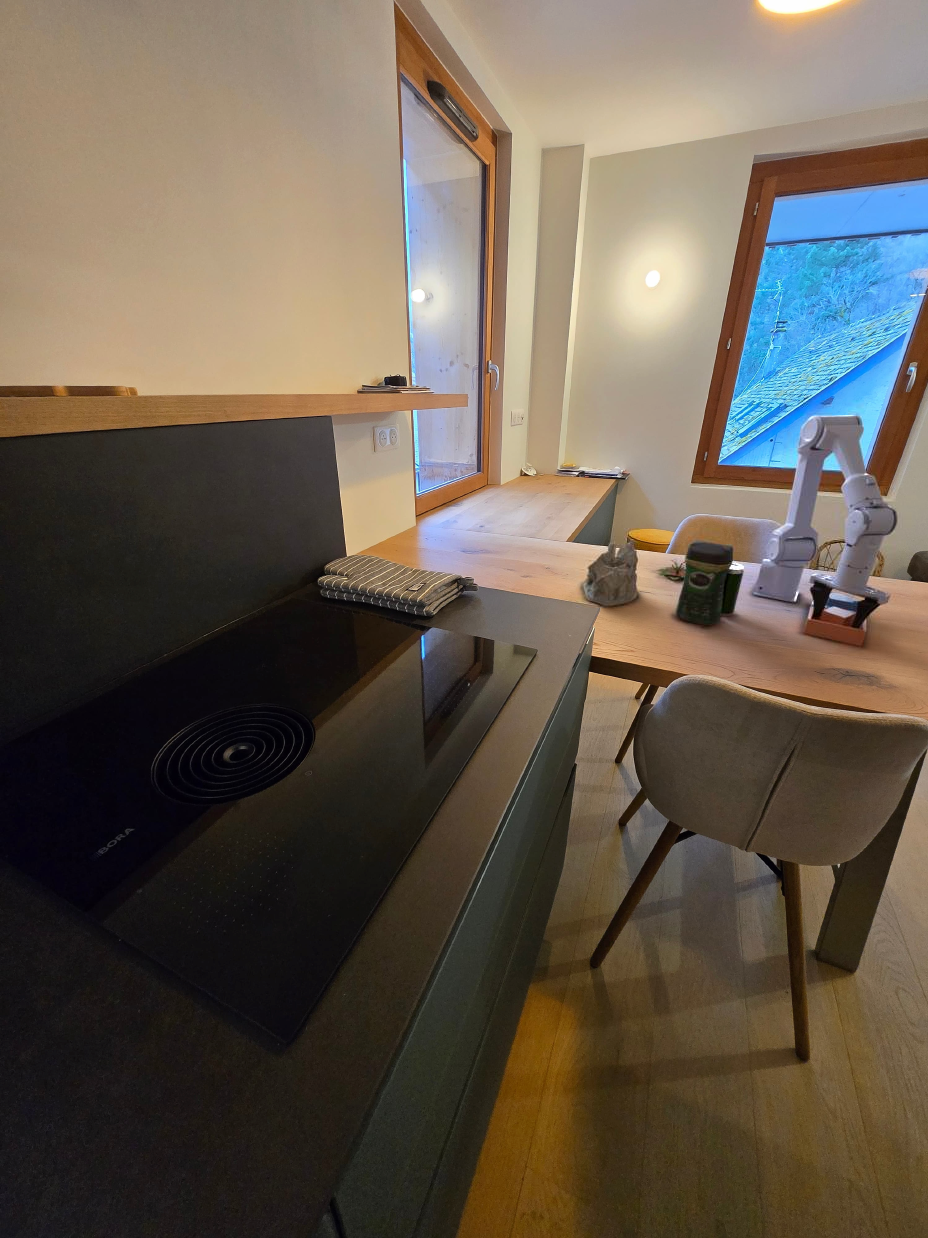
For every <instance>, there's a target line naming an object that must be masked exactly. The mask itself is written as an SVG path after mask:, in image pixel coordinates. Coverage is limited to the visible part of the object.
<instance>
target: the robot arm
mask: <svg viewBox="0 0 928 1238" xmlns="http://www.w3.org/2000/svg"><path fill="white" fill-rule="evenodd" d="M864 430H865V428H864V426H863V420H862V418H861V416H860V415H858V414H850V415H817V414H815V415H811V416H810V417H809V418H808V419H807V420H806V421H805V422H804V423H803V424H802V426H801V428H800V432H799V438H798V442H797V449H796V453H798V459H797V463H796V468H795V474H794V480H793V483H792V489H791V495H790V500H789V505H788V510H787V515H786V520H785V524H783V525H781V526H780V527H778V528H776V529H774V530H773V531H772V533H771V536H770V540H769V541H768V543H767V545H766V556H767V558H768V559H765V558H764V559H763V560H762V562H761V565H760V569H759V571H758V576H757V578H756V581H755V584H754V586H755V588H754V591H753V595H754V596H759V597H763V598H769V599H774V600H778V601H779V600H780V601H784V602H789V603H796V602H797V599H798V596H799V594H800V592H799V590H798V589H799V586H800V583H801V579H802V577H803V576H802V575H803V572H804V570H805V566H809V562H812V561H814V560H815V558H816V557H817V556H818V553H819V542H818V541H819V532H817V531H816V529H814V527H812V521H813V516H814V511H815V507H816V501H817V497H818V493H819V488H820V482H821V478H822V473H823V469H824V463H825V461H826V459H827V458H828V457H829V456H830V455H832V454H833V455H834V457H835V460H836V461H837V464H838V466H839V468H840V470H841V473H842V475H843V477H844V480H845V481H844V482H843V484H842V485H841V488H840V489H841V494H842V497H843V499H844V502H845V505H846V508H847V512H848V516H847V517H845V520H844V529H845V534H844V537H843V539H844V541H843V542H845V544H844V547H843V550H842V553H841V556H840V559H839V562H838V565H837V568H836V571H835V574H834V576H831V575H825V574H820V573H817V572H816V573H813V574H810V578H809V581H808V583H809V584H813V585H812V586H810V587H809V588H810V589H809V592H810V594H811V597H812V600H813V603H814V617H816V618H817V617H820V616H821V615H822V612H823V610H824V609H825V605H826V602H827V600H828V597H829V595H830V593H831V592H832V591H833V590H836V591H839V592H843V593H846V594H849V595H851V596H855V597H859V598H862V599H861V600H858V601H859V602H858V605H857V612H856V616H855V619H854V621H853V623H852V626H851V627H852V628H857V629H859V628H860V626H861V625H862V623H863V622H864V621H865V619H866V618H867V619H868V617H869V616H871V614H872V613H874V611H875V610H877V609H878V608H879V607H881V606H884V605H886V604H888V603H889V600H890V598H891V596H892V595H891V594H890V593H888V592H884V591H882V590H880V589H877V588H874V587H872V586H869V585H868V582H869V579H870V575H871V574H872V571H873V568H874V565H875V562H876V559H877V556H878V554H879V551H880V550H881V549H880V548H881V547H882V543H883V541H884V538H885V536H889V535H890V534H891V533H893V532H894V531H895V529H896V527H897V525H898V512H897V510H896V509H895V508H894V507H893V506H890V505H889V504H888V502H885V501H884V499H883V496H882V494H881V491H880V488H879V485H878V482H877V479H876V476H874V475H873V474H868V473H867V472H866V465H865V461H864V457H863V453H862V448H861V442H860V441H861V438H862V436H863V435H864V434H863V433H864Z"/></svg>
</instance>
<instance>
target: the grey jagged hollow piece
mask: <svg viewBox="0 0 928 1238" xmlns="http://www.w3.org/2000/svg"><path fill="white" fill-rule="evenodd" d="M616 551H617V544H616V542H615V541H610V542H609V543H608V547H607V551H605V552H603V553H601V554H600V555H599V556H598V558H596V559H595V560H594V561H593V562H592V563H591V564H589V565H588V566H587V570H588V572H587V573H586V577H587V578H585V581H584V582H585V583H583V584H582V587H583V591H584V594H585V598H586V599H587V600H588V601H589V602H591V603H596V604H598V605H601V606H604V607H613V606H619V605H623V604H628V603H631V602H633V601H634V600H635V599H636V598H637V596H638V588H637V587H638V585H637V582H638V581H637V580H638V575H637V570H638V569H637V567H638V565H637V564H638V562H639V557H638V553H637V552H638V551H637V550H636V549H635V539H633V538H632V539H630V540H629V542H627V543H626V545H625V546H622V545H621V546H619V549H618V551H617V552H616Z"/></svg>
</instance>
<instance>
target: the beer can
mask: <svg viewBox="0 0 928 1238" xmlns="http://www.w3.org/2000/svg"><path fill="white" fill-rule="evenodd" d="M743 575H744V566H743V565H742V564H739V563H736V562H732V565H731V567H730V568H729V570H728V571H727V574H726V578H725V582H724V590H723V600H722V610H721V616H720V617H730V616H732V615H733V614H734V612H735V609H736V605H737V601H738V597H739V593H740V588H741V585H742V580H743Z"/></svg>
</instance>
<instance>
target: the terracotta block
mask: <svg viewBox="0 0 928 1238" xmlns="http://www.w3.org/2000/svg"><path fill="white" fill-rule="evenodd" d="M855 615H856V613H853V612H850V611H847V610H844V609H841V608H838V607H835V606H834V607H831V608H828V609H826V610H823V612H822V615H821V618H820V621H823V622H828V623H832V624H837V625H842V626H847V627H851V626H852V623H853V620H854V618H855Z"/></svg>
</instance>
